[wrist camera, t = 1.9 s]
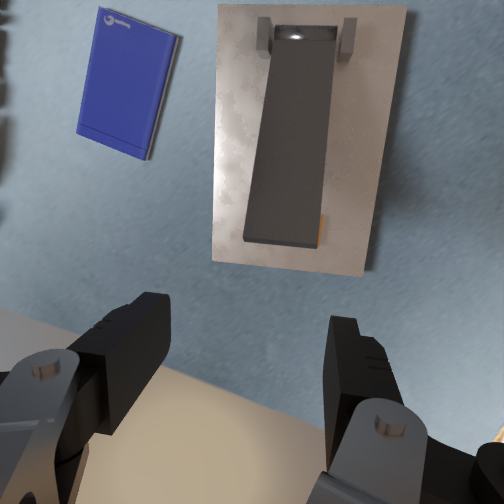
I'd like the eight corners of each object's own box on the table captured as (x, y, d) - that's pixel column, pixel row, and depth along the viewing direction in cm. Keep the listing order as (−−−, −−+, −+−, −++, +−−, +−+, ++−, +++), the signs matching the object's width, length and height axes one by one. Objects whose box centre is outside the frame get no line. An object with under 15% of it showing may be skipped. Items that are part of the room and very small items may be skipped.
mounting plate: (223, 12, 33) (208, -10, 28) (401, 13, 31) (418, -10, 26) (216, 255, 40) (204, 269, 35) (360, 270, 38) (367, 288, 33)
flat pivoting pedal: (276, 38, 30) (275, 19, 29) (335, 40, 30) (338, 19, 28) (244, 243, 25) (241, 234, 23) (316, 250, 24) (318, 242, 22)
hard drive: (97, 4, 34) (74, 133, 38) (175, 34, 33) (143, 161, 37) (106, 10, 35) (83, 133, 39) (181, 39, 35) (150, 160, 39)
